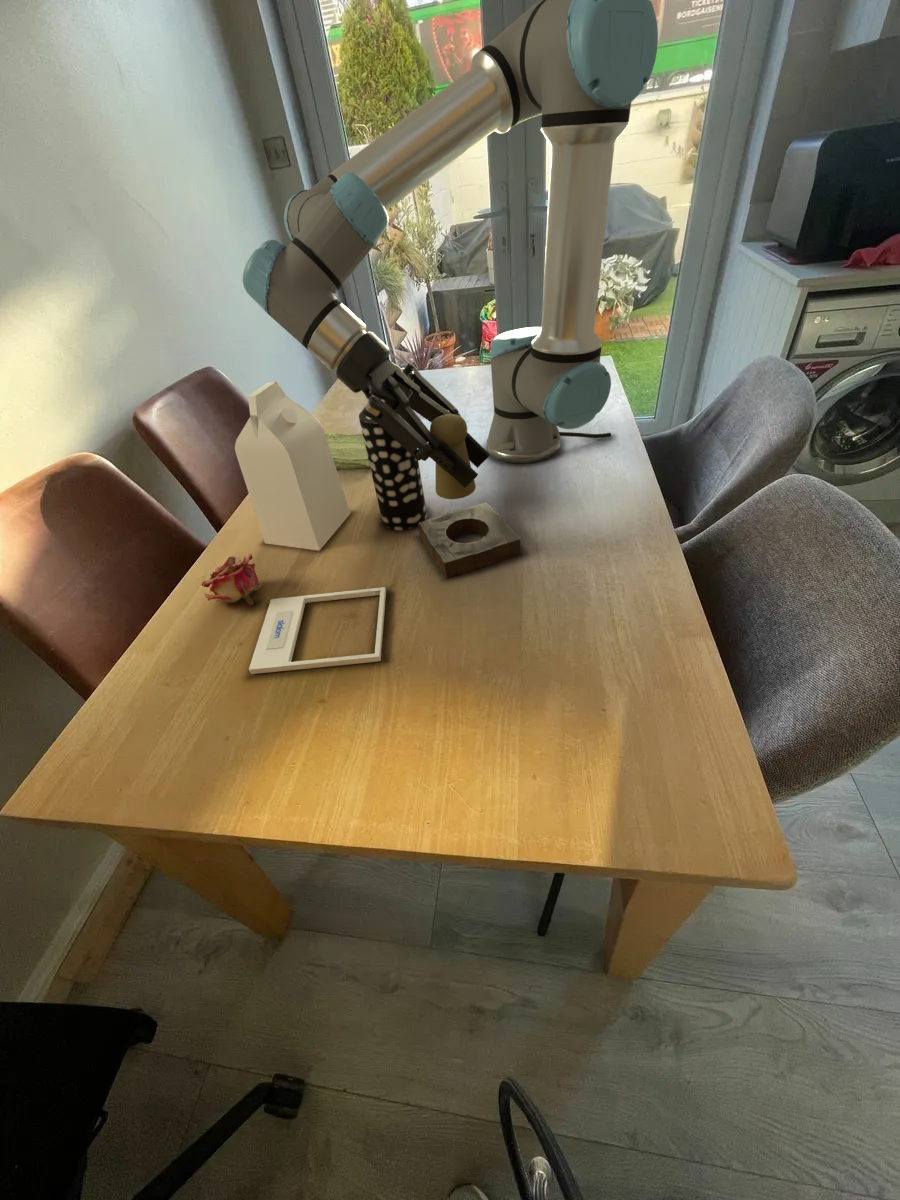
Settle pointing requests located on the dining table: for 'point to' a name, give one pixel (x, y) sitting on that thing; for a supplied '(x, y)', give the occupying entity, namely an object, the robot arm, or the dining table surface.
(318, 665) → the photo frame
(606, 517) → the dining table surface
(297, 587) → the dining table surface
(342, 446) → the washcloth
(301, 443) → the milk
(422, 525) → the ring plate
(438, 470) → the wooden peg doll
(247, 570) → the flower
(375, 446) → the spotted tube
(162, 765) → the dining table surface
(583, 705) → the dining table surface
